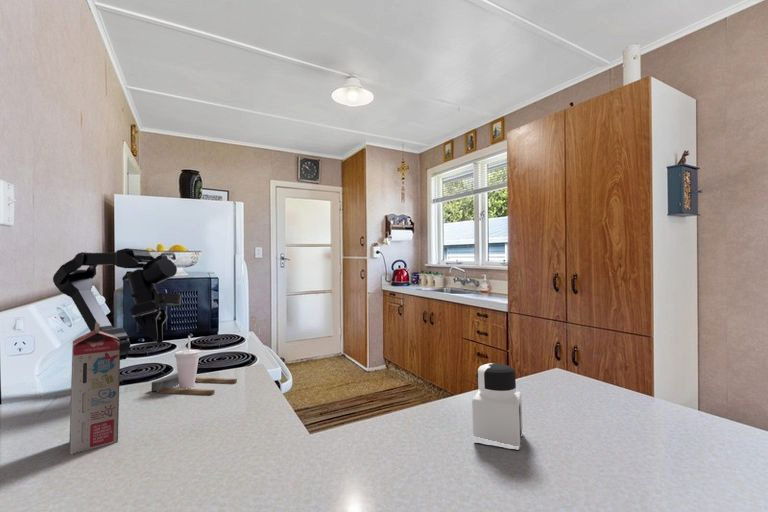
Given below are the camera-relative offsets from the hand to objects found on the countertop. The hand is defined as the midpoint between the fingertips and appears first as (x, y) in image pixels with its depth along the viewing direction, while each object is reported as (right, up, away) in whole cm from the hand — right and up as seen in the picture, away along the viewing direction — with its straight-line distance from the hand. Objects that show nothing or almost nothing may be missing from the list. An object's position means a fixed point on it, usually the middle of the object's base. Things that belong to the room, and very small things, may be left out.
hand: (158, 341), depth 100 cm
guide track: (+11, -12, -1) cm, 17 cm away
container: (+84, -9, -35) cm, 92 cm away
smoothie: (+8, -13, -1) cm, 15 cm away
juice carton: (+9, -11, -34) cm, 37 cm away
